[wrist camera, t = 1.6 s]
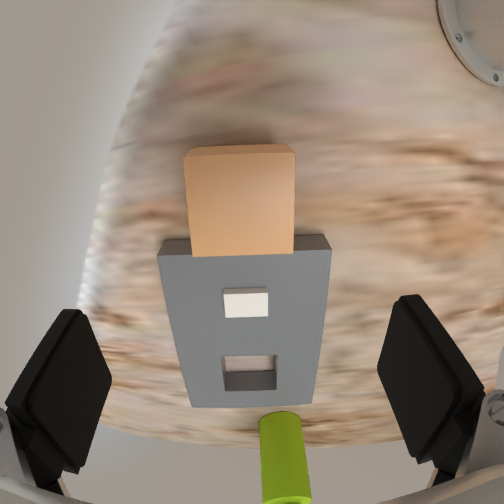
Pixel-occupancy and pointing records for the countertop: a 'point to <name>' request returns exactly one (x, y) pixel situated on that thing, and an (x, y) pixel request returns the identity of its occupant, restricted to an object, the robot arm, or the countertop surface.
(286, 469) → the soap dispenser
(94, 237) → the countertop surface
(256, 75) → the countertop surface
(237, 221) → the plug
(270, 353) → the socket
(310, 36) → the countertop surface
